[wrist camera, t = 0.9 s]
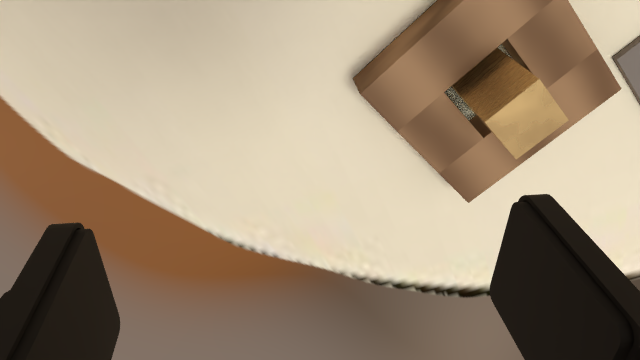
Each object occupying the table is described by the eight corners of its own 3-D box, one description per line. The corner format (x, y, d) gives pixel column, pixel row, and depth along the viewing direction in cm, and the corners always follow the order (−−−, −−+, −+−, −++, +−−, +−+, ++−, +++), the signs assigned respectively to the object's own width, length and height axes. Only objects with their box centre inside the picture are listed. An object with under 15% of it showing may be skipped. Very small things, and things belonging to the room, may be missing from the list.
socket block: (509, -67, 32) (530, -61, 29) (597, 74, 38) (621, 89, 36) (352, 78, 36) (360, 93, 34) (455, 183, 43) (468, 203, 40)
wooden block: (486, 39, 36) (539, 78, 29) (513, 75, 38) (568, 120, 31) (443, 76, 37) (484, 122, 30) (471, 109, 39) (516, 159, 32)
